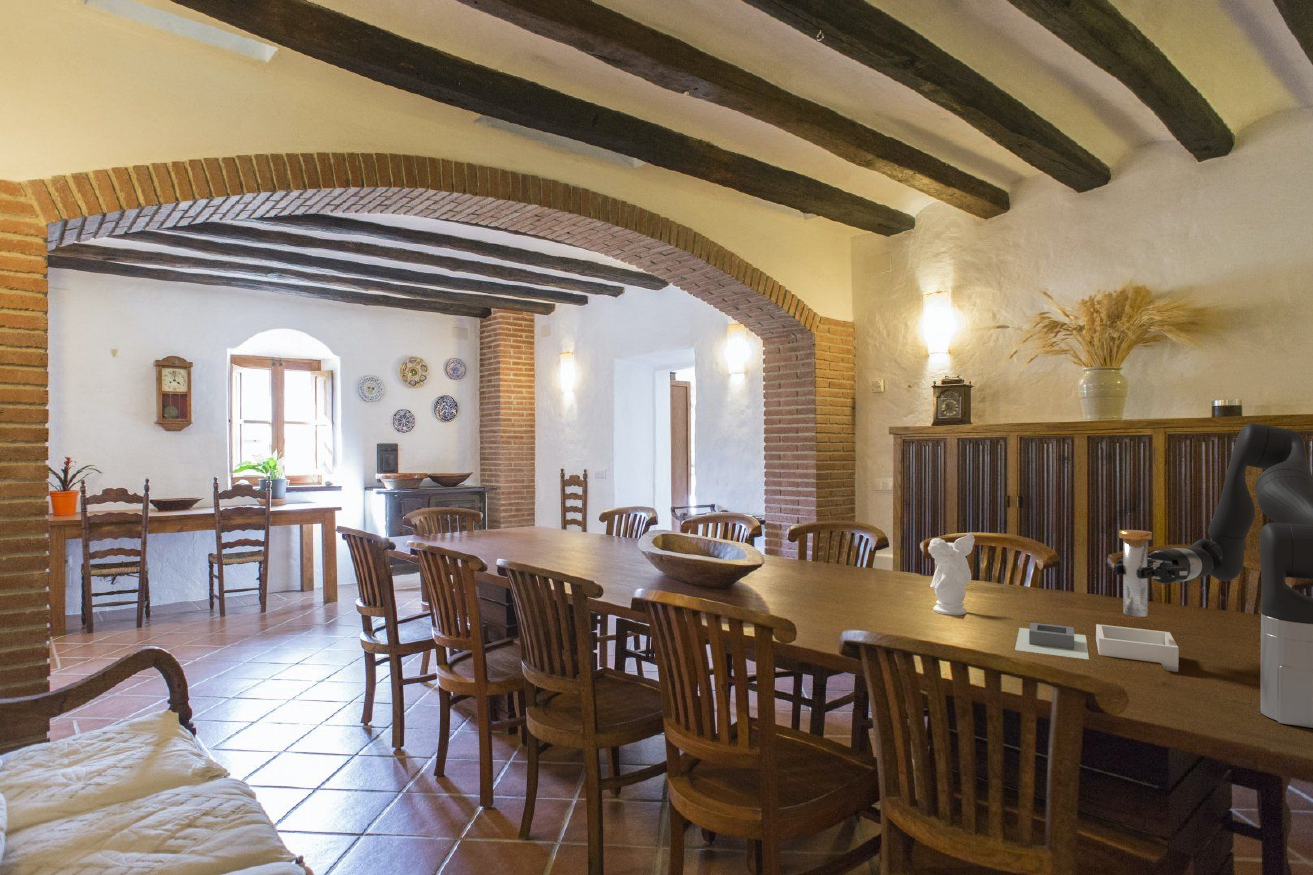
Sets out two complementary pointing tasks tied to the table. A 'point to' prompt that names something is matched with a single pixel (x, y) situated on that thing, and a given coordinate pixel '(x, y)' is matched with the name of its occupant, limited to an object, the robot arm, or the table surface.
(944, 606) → the cherub figurine
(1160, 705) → the table surface
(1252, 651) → the table surface
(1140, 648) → the tray
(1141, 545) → the steel pin
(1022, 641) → the hitch plate
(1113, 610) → the table surface
